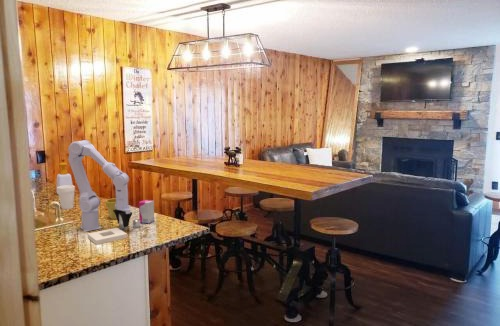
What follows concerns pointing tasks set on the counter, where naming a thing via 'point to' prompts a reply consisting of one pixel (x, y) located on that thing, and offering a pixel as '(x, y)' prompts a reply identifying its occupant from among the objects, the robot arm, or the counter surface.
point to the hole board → (107, 236)
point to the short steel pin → (136, 223)
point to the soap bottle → (63, 177)
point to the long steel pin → (121, 224)
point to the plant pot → (111, 207)
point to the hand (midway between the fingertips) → (123, 224)
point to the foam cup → (66, 196)
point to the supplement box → (146, 211)
